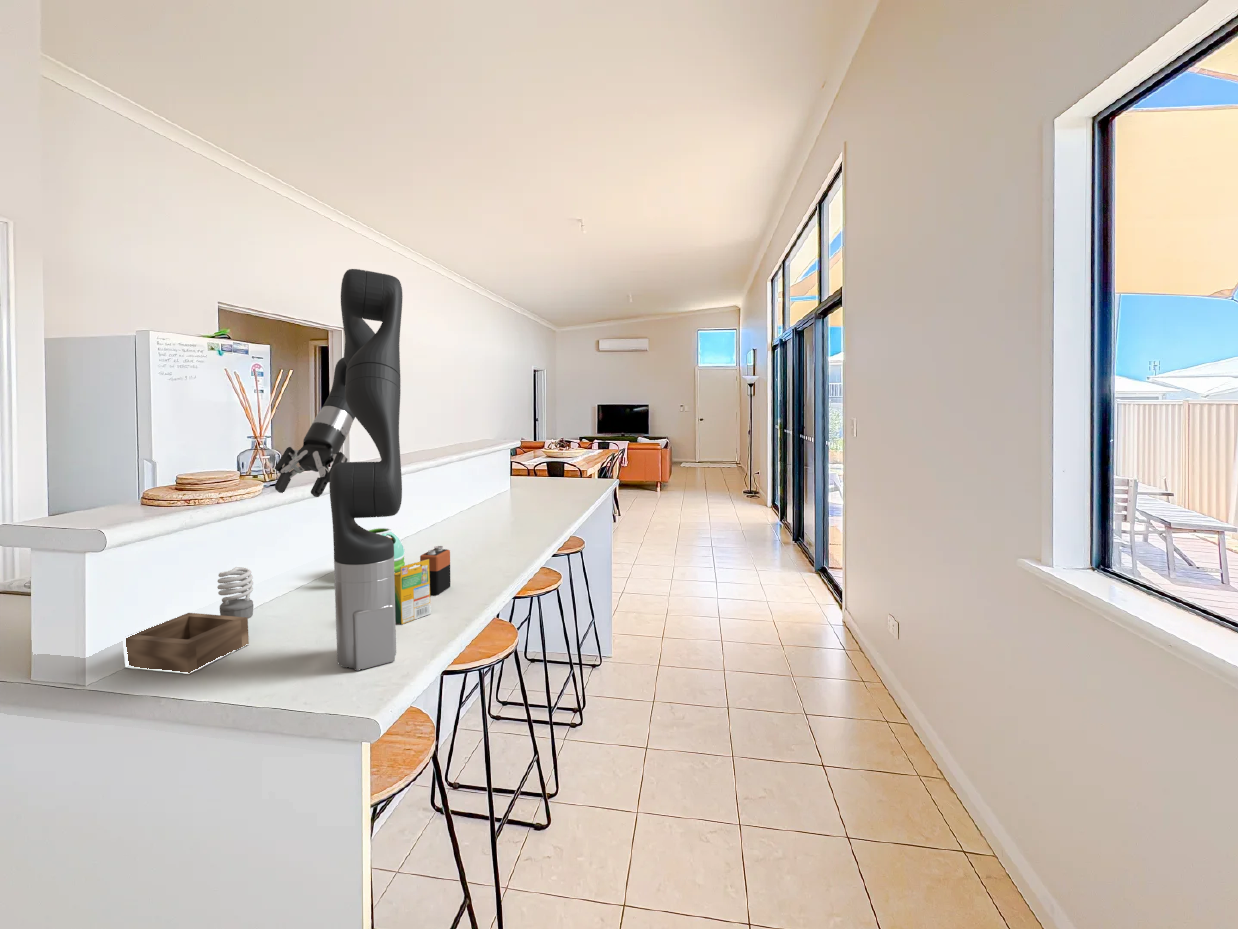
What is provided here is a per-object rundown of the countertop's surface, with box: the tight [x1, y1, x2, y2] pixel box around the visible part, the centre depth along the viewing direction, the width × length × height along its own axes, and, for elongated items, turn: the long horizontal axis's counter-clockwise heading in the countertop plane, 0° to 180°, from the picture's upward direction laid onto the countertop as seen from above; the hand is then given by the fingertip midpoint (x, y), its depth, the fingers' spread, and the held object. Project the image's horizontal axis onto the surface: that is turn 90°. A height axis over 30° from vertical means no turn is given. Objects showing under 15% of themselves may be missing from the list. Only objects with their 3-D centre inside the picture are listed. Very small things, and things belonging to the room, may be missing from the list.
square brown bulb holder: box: [126, 612, 250, 673], centre depth 99 cm, size 12×12×5 cm
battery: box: [419, 545, 451, 596], centre depth 136 cm, size 4×7×10 cm, turn 170°
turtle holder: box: [367, 527, 406, 573], centre depth 144 cm, size 12×18×12 cm
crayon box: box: [394, 559, 432, 625], centre depth 119 cm, size 7×3×12 cm, turn 148°
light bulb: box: [217, 566, 254, 620], centre depth 111 cm, size 6×6×12 cm
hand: (296, 493), depth 125 cm, fingers open, 8 cm apart
